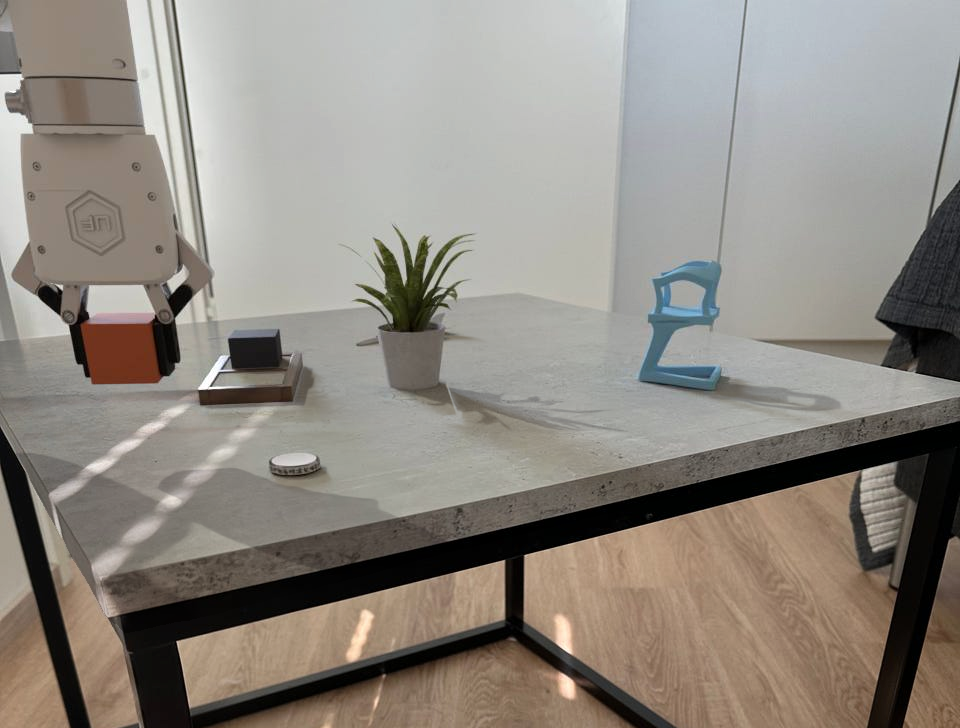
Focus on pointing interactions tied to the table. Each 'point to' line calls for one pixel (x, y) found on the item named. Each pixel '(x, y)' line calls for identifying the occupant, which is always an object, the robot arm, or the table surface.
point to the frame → (251, 392)
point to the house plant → (411, 315)
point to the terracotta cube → (121, 348)
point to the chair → (681, 325)
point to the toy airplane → (436, 319)
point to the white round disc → (294, 463)
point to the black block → (255, 348)
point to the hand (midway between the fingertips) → (131, 370)
